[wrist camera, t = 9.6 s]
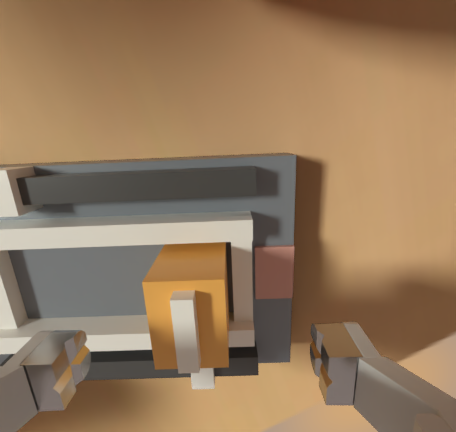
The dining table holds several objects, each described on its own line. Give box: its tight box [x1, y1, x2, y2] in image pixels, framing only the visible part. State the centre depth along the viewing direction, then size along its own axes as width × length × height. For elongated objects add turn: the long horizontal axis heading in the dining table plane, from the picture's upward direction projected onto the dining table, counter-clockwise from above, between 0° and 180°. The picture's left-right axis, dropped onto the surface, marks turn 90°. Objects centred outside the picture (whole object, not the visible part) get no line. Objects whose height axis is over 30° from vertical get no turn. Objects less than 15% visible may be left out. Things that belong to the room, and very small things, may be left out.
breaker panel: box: [0, 153, 296, 389], centre depth 14 cm, size 18×12×4 cm, turn 92°
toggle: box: [142, 242, 229, 374], centre depth 12 cm, size 3×4×5 cm
